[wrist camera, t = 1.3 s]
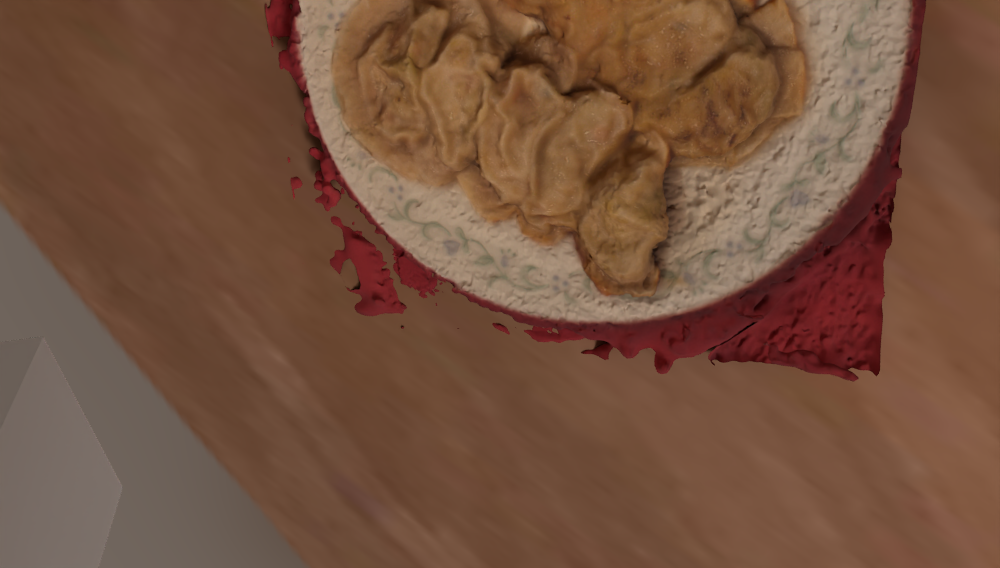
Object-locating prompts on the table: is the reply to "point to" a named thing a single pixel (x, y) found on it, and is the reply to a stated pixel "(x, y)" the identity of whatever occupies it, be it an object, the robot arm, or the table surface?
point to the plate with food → (621, 163)
